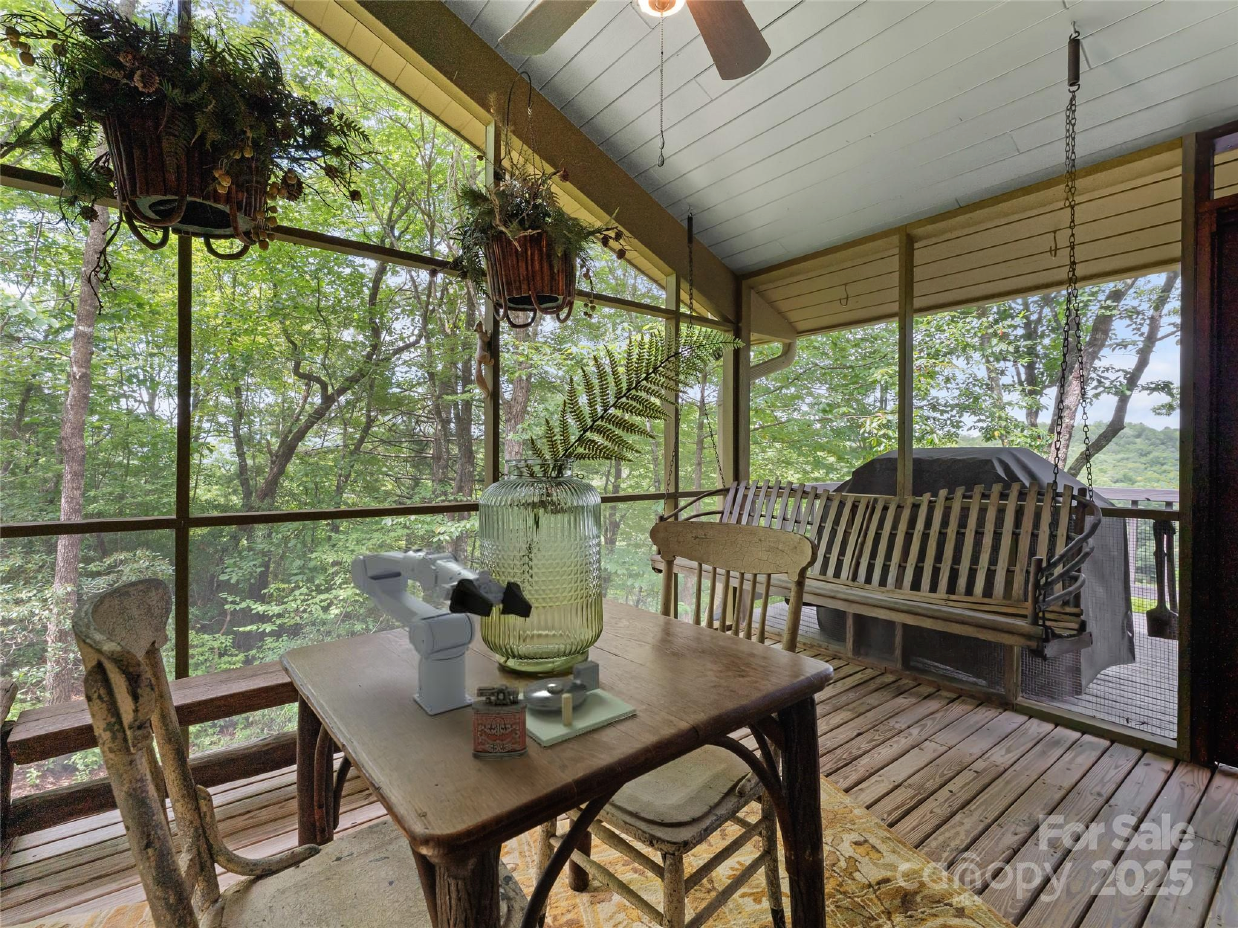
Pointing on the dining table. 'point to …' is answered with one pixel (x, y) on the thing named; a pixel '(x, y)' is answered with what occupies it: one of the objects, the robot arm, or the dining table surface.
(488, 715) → the lighter
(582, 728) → the board
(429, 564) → the robot arm
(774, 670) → the dining table surface
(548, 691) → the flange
